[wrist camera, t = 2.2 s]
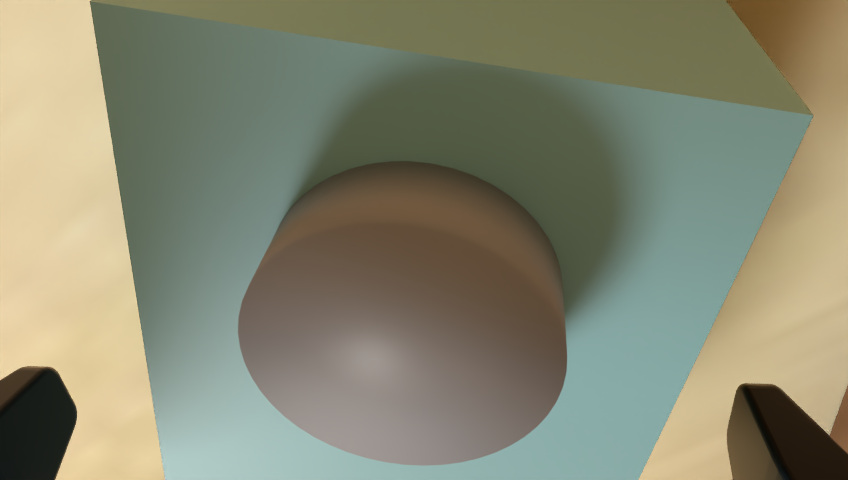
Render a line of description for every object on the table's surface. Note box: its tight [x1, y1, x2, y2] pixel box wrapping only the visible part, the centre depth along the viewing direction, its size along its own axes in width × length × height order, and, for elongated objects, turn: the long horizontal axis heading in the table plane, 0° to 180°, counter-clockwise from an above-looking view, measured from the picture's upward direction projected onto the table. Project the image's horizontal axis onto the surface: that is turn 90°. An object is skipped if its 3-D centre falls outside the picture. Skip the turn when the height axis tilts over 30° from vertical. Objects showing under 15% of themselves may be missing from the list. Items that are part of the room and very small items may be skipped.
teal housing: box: [90, 0, 813, 480], centre depth 10 cm, size 10×6×6 cm, turn 173°
